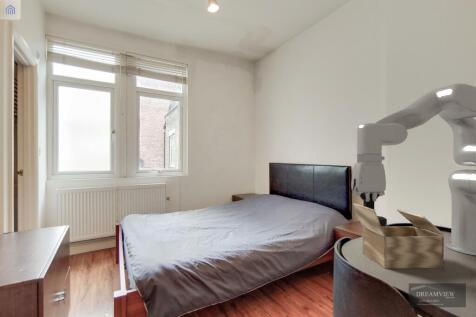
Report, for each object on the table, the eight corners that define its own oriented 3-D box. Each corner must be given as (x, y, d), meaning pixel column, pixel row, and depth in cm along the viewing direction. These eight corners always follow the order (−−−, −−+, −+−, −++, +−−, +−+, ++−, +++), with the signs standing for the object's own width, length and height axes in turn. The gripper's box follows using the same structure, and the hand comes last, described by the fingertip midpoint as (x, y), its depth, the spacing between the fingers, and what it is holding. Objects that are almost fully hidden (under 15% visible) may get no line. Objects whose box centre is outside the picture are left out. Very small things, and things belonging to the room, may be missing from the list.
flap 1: (354, 203, 88) (353, 203, 88) (374, 209, 76) (373, 210, 76) (363, 225, 88) (362, 226, 88) (384, 235, 76) (383, 236, 76)
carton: (413, 253, 89) (414, 226, 89) (443, 267, 77) (443, 236, 78) (362, 253, 88) (363, 226, 88) (385, 268, 76) (385, 237, 76)
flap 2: (414, 225, 89) (414, 224, 89) (442, 235, 78) (443, 234, 78) (396, 210, 89) (397, 209, 89) (423, 217, 77) (424, 216, 77)
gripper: (382, 159, 86) (382, 210, 86) (342, 159, 85) (342, 210, 85) (397, 159, 79) (397, 214, 79) (354, 159, 78) (354, 215, 78)
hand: (368, 212), depth 82 cm, fingers closed
